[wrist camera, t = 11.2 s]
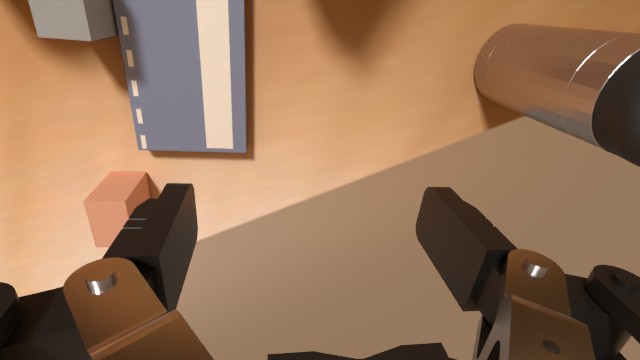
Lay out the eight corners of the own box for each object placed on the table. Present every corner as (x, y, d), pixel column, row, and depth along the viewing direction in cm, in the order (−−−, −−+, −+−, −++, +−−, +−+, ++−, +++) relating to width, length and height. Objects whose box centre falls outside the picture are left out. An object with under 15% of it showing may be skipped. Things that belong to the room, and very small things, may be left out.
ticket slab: (244, -44, 33) (243, -47, 31) (247, 146, 42) (246, 152, 40) (111, -60, 31) (101, -64, 29) (144, 143, 40) (138, 150, 38)
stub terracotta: (146, 172, 41) (124, 201, 35) (152, 212, 44) (134, 246, 38) (111, 171, 41) (83, 201, 35) (120, 212, 44) (96, 247, 37)
